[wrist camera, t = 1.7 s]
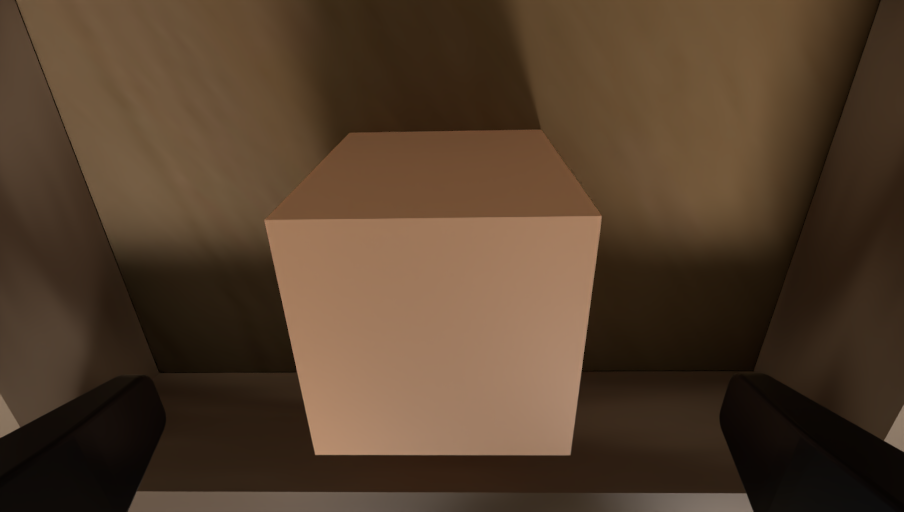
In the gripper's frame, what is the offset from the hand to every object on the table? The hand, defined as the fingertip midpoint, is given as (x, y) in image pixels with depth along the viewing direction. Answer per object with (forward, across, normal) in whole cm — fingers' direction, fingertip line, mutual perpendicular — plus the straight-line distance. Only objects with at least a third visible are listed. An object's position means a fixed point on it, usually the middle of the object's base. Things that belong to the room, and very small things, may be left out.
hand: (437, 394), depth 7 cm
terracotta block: (+7, 0, 0) cm, 7 cm away
